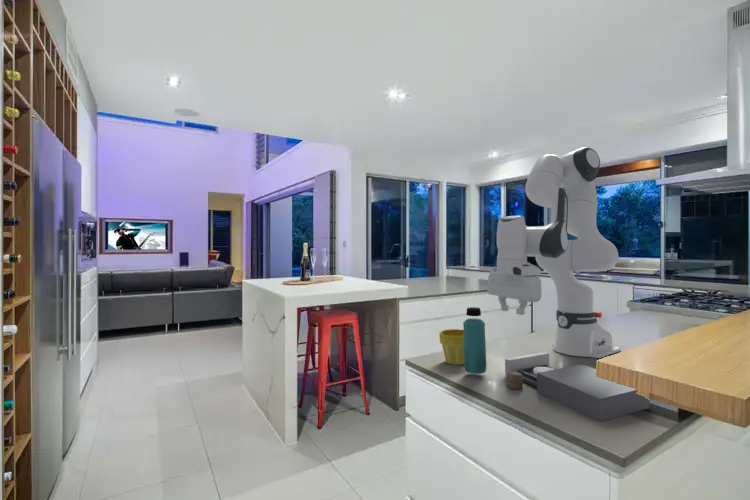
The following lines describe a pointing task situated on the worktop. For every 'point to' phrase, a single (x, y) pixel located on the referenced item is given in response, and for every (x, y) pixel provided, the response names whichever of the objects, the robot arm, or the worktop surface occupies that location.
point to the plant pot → (453, 345)
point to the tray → (527, 366)
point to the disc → (541, 370)
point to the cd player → (590, 392)
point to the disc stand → (514, 381)
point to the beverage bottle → (474, 343)
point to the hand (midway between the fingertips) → (512, 312)
